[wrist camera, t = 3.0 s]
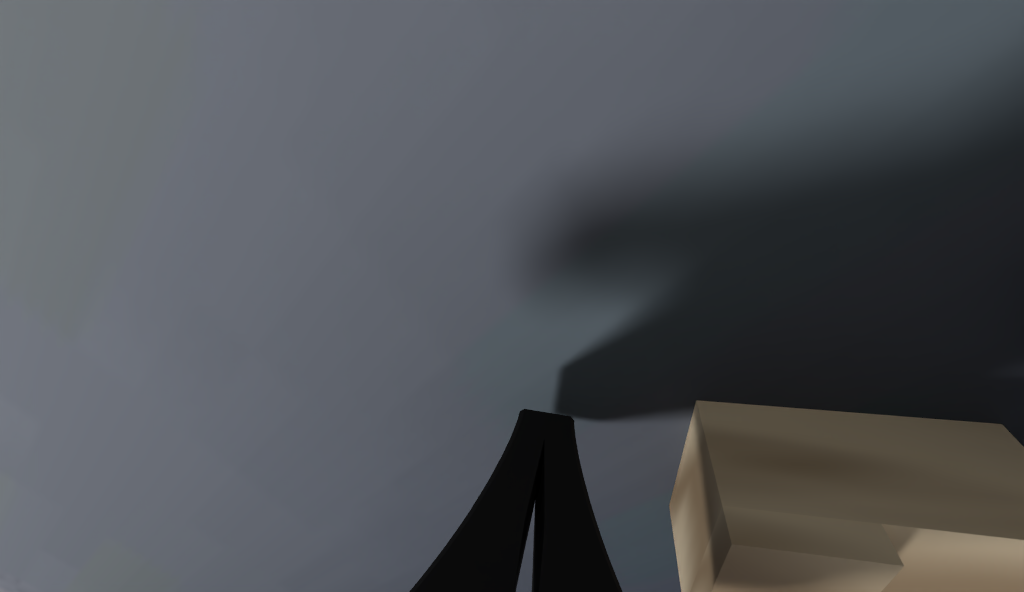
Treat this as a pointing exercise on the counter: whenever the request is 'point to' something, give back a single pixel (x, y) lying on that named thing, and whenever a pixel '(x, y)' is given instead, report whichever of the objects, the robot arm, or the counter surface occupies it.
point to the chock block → (846, 503)
